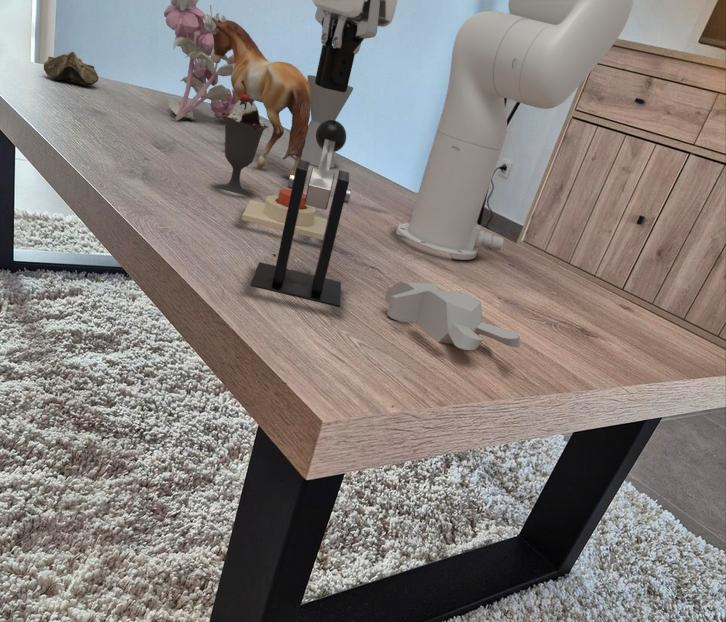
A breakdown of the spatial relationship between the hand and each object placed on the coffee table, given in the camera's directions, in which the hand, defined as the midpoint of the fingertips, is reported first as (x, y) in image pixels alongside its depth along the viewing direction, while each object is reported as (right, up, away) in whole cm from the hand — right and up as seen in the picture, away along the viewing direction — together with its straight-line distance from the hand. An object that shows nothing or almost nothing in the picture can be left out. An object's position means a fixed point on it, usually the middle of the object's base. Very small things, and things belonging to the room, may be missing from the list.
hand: (330, 88), depth 74 cm
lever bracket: (-3, -23, -4) cm, 23 cm away
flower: (-30, +24, +71) cm, 81 cm away
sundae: (-16, -4, +25) cm, 30 cm away
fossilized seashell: (-58, +31, +68) cm, 95 cm away
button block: (-7, -12, +15) cm, 21 cm away
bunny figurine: (+11, -28, -4) cm, 30 cm away
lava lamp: (-6, +12, +62) cm, 64 cm away
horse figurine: (-18, +7, +44) cm, 48 cm away
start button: (-6, -9, +14) cm, 18 cm away
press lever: (-1, -11, -5) cm, 12 cm away
